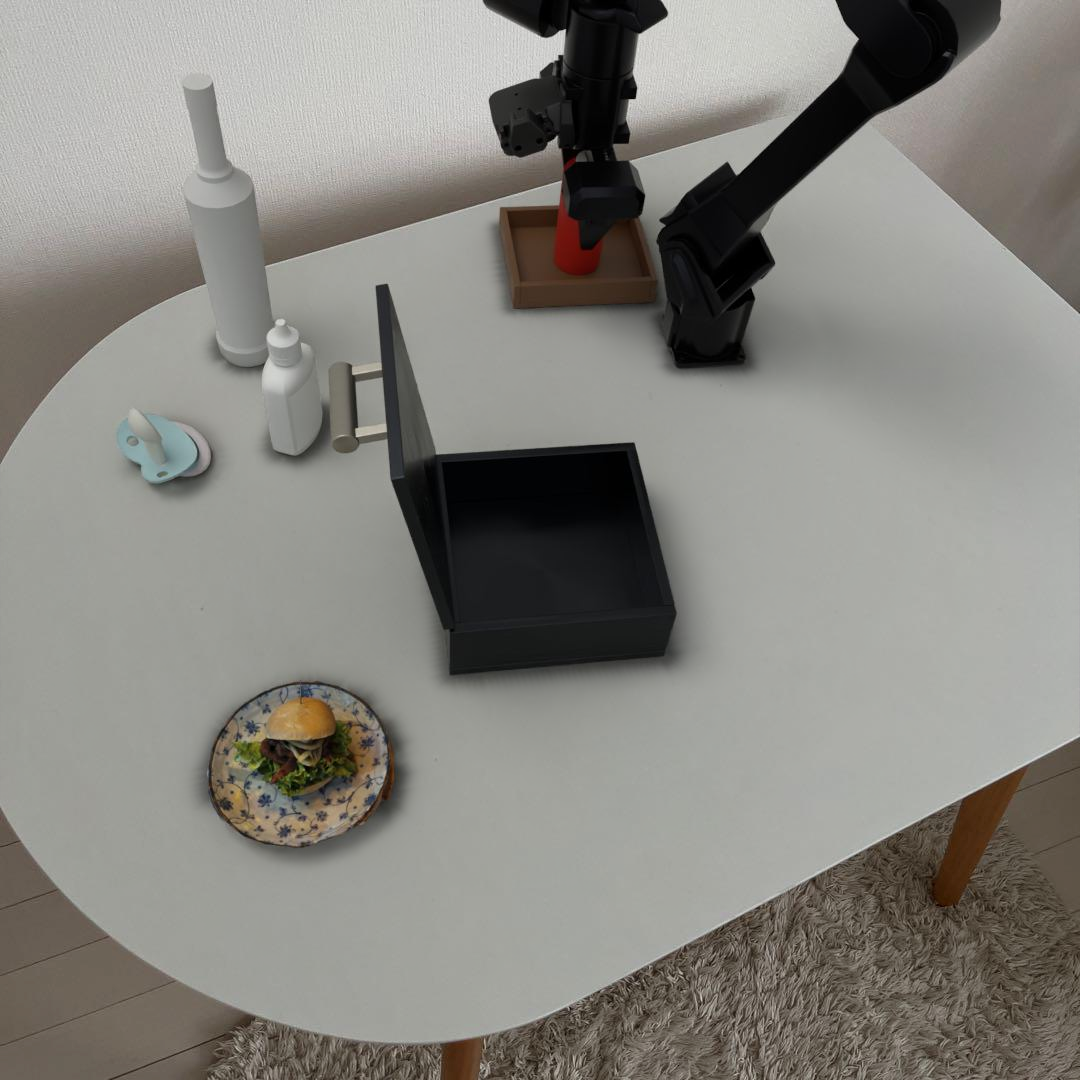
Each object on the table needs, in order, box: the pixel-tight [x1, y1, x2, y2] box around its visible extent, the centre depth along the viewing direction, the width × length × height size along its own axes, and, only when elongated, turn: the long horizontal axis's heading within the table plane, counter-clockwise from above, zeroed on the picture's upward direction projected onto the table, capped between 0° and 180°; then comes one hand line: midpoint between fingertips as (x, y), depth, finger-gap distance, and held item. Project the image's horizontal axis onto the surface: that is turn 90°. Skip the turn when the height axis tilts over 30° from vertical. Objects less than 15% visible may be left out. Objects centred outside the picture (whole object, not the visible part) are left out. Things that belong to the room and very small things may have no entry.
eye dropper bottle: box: [261, 318, 323, 456], centre depth 86 cm, size 4×6×12 cm
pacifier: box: [115, 407, 212, 484], centre depth 86 cm, size 7×6×6 cm
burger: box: [206, 679, 395, 849], centre depth 71 cm, size 12×12×8 cm
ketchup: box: [553, 150, 604, 275], centre depth 99 cm, size 4×4×12 cm
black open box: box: [436, 441, 678, 676], centre depth 82 cm, size 16×16×6 cm
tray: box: [498, 204, 659, 309], centre depth 104 cm, size 13×11×3 cm
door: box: [327, 283, 455, 631], centre depth 71 cm, size 16×16×4 cm
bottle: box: [181, 72, 276, 368], centre depth 86 cm, size 5×5×25 cm
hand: (579, 219), depth 101 cm, fingers open, 8 cm apart
